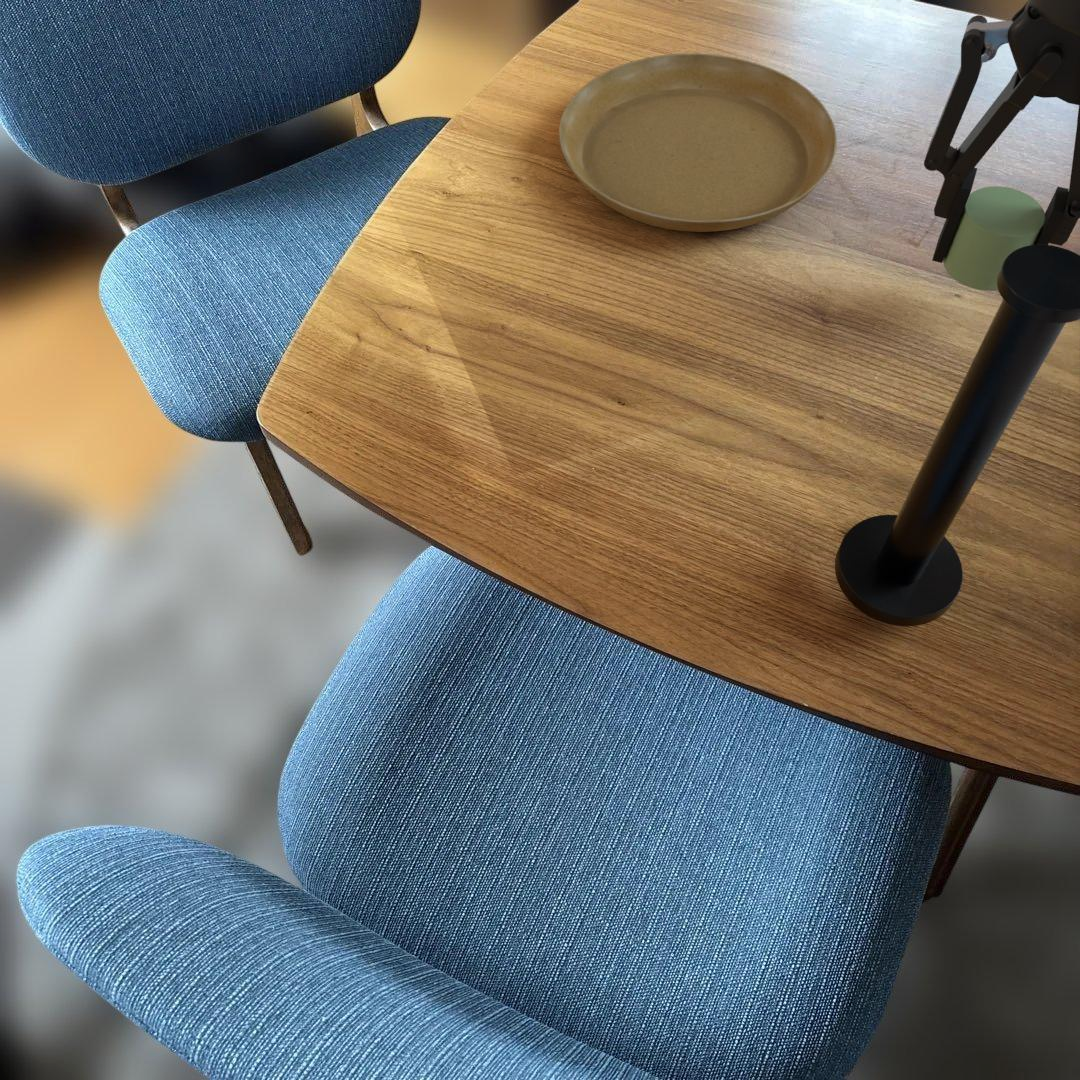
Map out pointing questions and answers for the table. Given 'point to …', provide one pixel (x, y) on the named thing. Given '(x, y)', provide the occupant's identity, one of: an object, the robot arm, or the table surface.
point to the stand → (961, 448)
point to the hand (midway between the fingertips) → (982, 260)
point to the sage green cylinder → (991, 234)
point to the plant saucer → (697, 141)
